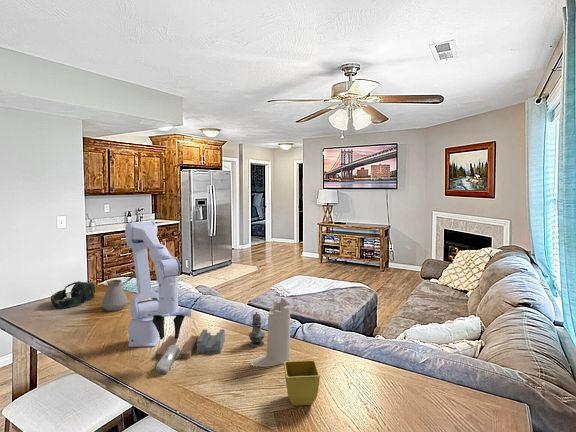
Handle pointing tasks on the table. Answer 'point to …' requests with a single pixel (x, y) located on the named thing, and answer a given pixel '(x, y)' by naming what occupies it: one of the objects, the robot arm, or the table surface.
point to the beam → (186, 350)
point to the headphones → (73, 295)
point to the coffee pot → (115, 295)
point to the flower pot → (302, 381)
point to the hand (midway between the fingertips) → (169, 338)
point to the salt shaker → (256, 332)
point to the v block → (210, 342)
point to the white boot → (277, 336)
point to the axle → (167, 359)
